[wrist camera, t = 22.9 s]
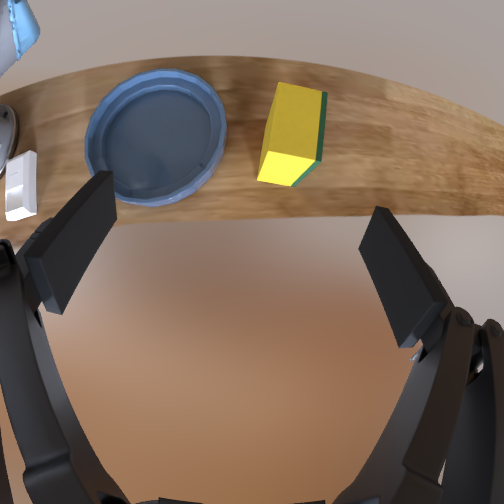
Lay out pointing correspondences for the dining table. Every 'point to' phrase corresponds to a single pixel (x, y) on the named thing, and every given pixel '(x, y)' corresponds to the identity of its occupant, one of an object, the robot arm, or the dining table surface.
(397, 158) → the dining table surface
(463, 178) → the dining table surface
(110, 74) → the dining table surface
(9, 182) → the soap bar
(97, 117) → the bowl
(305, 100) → the sponge
